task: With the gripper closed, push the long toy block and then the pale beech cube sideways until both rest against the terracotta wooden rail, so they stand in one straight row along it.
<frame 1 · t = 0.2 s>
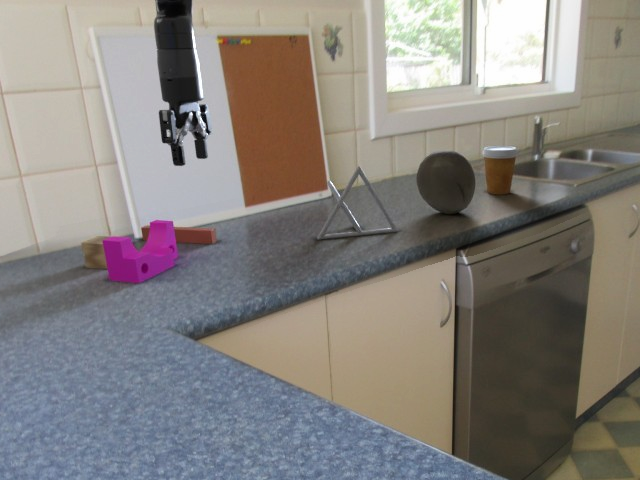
hand: (191, 162, 130), 18 cm above the countertop, tool pointing down, fingers open, 8 cm apart
disposable coffee cup: (498, 193, 183), on the countertop
dark round piece: (445, 214, 161), on the countertop
toy block: (151, 270, 123), on the countertop
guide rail: (179, 241, 141), on the countertop
beech cube: (105, 265, 127), on the countertop
wire frame: (353, 232, 147), on the countertop
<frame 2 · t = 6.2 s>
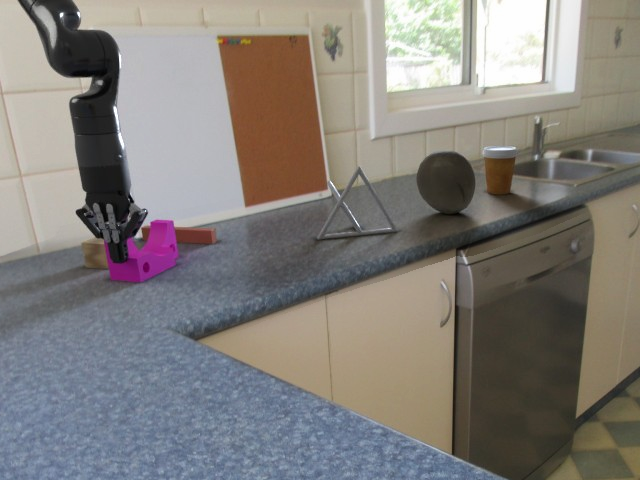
hand: (120, 262, 114), 4 cm above the countertop, tool pointing down, fingers closed
toy block: (152, 270, 124), on the countertop, touching gripper
everything else where it was.
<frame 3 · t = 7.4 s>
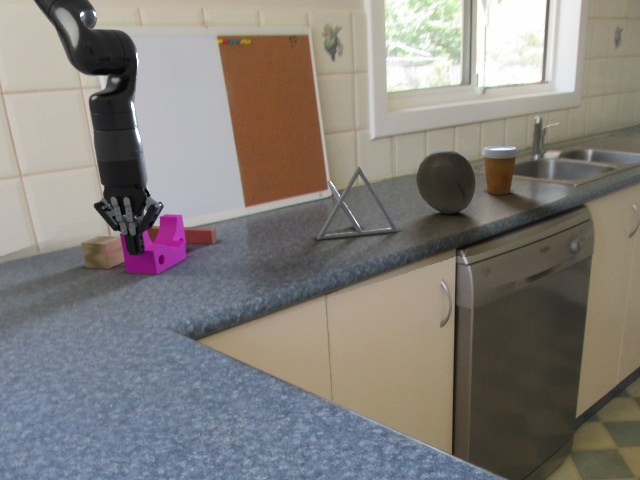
hand: (136, 254, 118), 4 cm above the countertop, tool pointing down, fingers closed
toy block: (164, 262, 128), on the countertop, touching gripper
everything else where it was.
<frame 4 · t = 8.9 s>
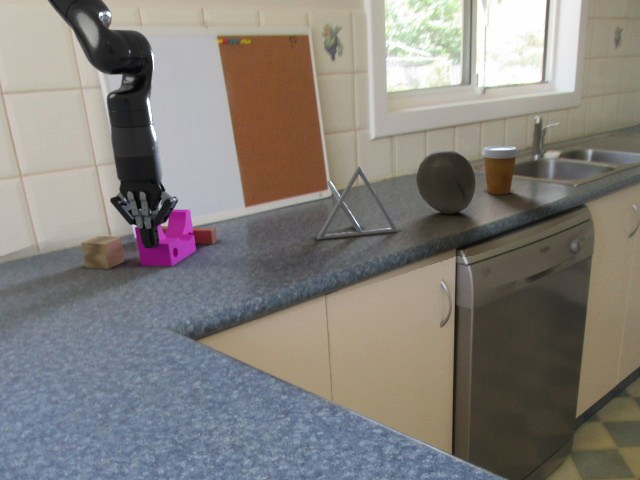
hand: (151, 247, 122), 4 cm above the countertop, tool pointing down, fingers closed
toy block: (175, 256, 132), on the countertop, touching gripper
everything else where it was.
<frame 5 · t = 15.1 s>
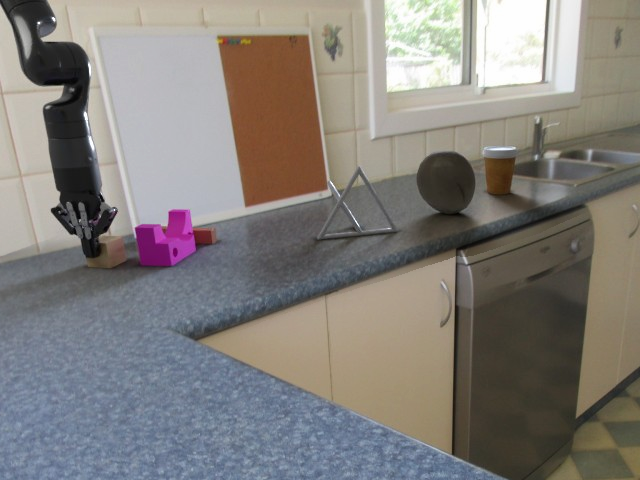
hand: (92, 257, 123), 3 cm above the countertop, tool pointing down, fingers closed
toy block: (175, 255, 132), on the countertop
beech cube: (107, 264, 127), on the countertop, touching gripper
everything else where it was.
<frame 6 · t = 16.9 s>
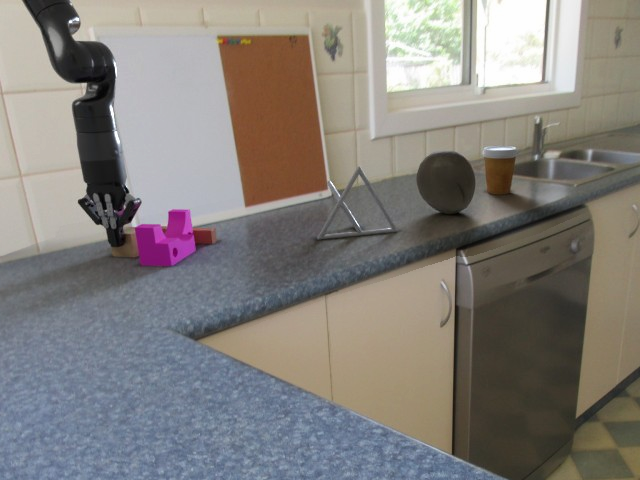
hand: (117, 246, 129), 3 cm above the countertop, tool pointing down, fingers closed
beech cube: (131, 254, 133), on the countertop, touching gripper
everything else where it was.
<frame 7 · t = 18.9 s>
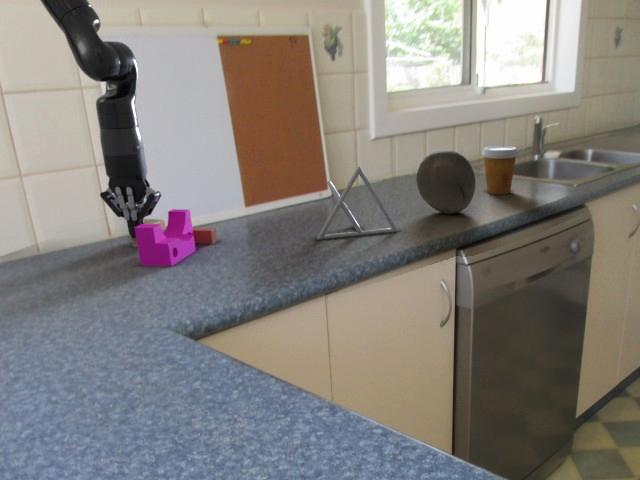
hand: (137, 237, 135), 3 cm above the countertop, tool pointing down, fingers closed
beech cube: (150, 245, 139), on the countertop, touching gripper, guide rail
everything else where it was.
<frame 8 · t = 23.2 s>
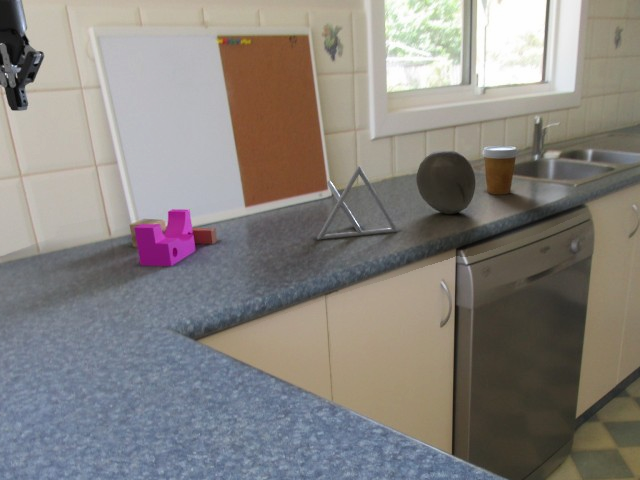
hand: (19, 110, 114), 29 cm above the countertop, tool pointing down, fingers closed
beech cube: (150, 245, 139), on the countertop
everything else where it was.
at the end: toy block 0.8 cm from the target spot, on the countertop; beech cube 1.6 cm from the target spot, on the countertop; toy block tilted 0° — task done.
